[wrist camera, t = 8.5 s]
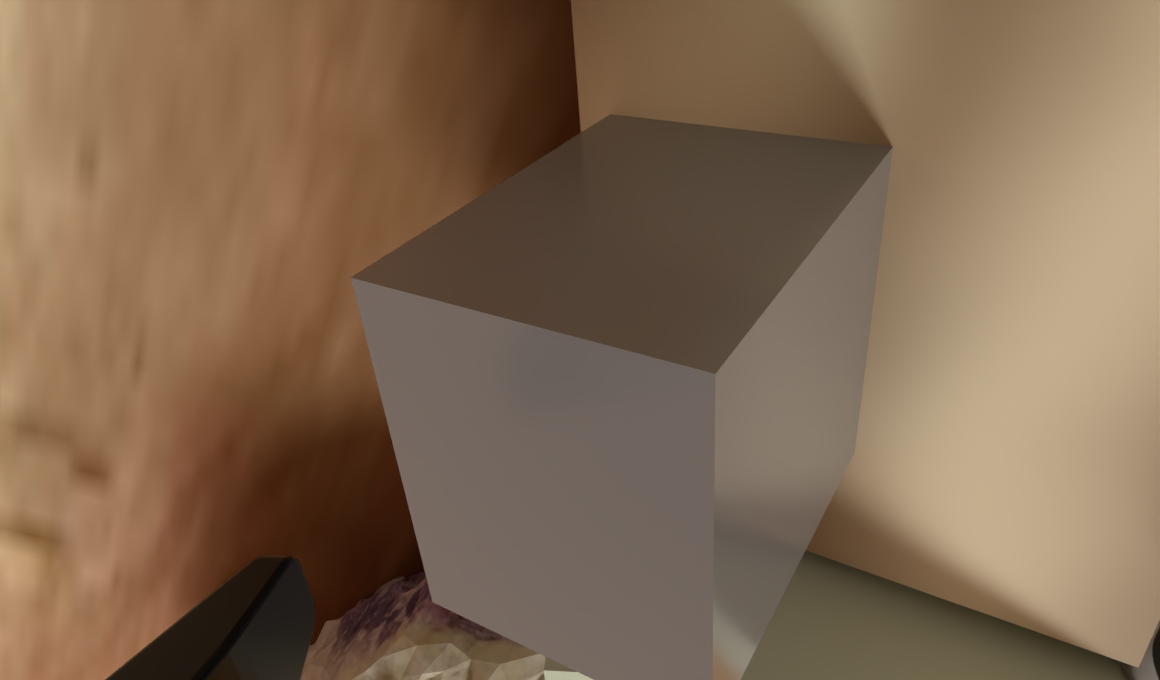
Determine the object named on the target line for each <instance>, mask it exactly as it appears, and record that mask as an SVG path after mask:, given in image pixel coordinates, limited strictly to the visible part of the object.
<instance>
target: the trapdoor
mask: <svg viewBox="0 0 1160 680" xmlns="http://www.w3.org/2000/svg"><path fill="white" fill-rule="evenodd" d="M571 10H572V23H573V36H574V49H575V62H576V76H577V89H578V102H579V115H580V128H581V132H583V131H584V130H586V129H587V128H589V127H591V126H592V125H594V124H595V123H597V122H599V121H600V120H602V119H603V118H605V117H607V116H608V115H610V114H613V115H621V116H630V117H639V118H647V119H656V120H665V121H673V122H682V123H690V124H699V125H708V126H716V127H725V128H733V129H742V130H751V131H759V132H768V133H776V134H785V135H794V136H802V137H811V138H819V139H828V140H837V141H845V142H854V143H862V144H871V145H880V146H888V147H893V150H892V158H891V166H890V174H889V182H888V190H887V198H886V206H885V214H884V222H883V230H882V238H881V246H880V254H879V262H878V270H877V278H876V286H875V294H874V302H873V310H872V318H871V326H870V334H869V342H868V350H867V358H866V366H865V374H864V382H863V390H862V398H861V406H860V414H859V422H858V430H857V438H856V446H855V453H854V455H853V457H852V459H851V461H850V463H849V465H848V467H847V469H846V471H845V473H844V475H843V477H842V479H841V481H840V483H839V485H838V487H837V489H836V491H835V493H834V495H833V497H832V499H831V501H830V503H829V505H828V507H827V509H826V511H825V513H824V515H823V517H822V519H821V521H820V523H819V525H818V527H817V529H816V531H815V533H814V535H813V537H812V539H811V541H810V543H809V545H808V547H807V549H806V551H809V552H812V553H815V554H817V555H820V556H823V557H826V558H829V559H832V560H834V561H837V562H840V563H843V564H846V565H849V566H851V567H854V568H857V569H860V570H863V571H866V572H868V573H871V574H874V575H877V576H880V577H883V578H885V579H888V580H891V581H894V582H897V583H900V584H902V585H905V586H908V587H911V588H914V589H917V590H919V591H922V592H925V593H928V594H931V595H934V596H936V597H939V598H942V599H945V600H948V601H951V602H953V603H956V604H959V605H962V606H965V607H968V608H970V609H973V610H976V611H979V612H982V613H985V614H987V615H990V616H993V617H996V618H999V619H1002V620H1004V621H1007V622H1010V623H1013V624H1016V625H1019V626H1021V627H1024V628H1027V629H1030V630H1033V631H1036V632H1038V633H1041V634H1044V635H1047V636H1050V637H1053V638H1055V639H1058V640H1061V641H1064V642H1067V643H1070V644H1072V645H1075V646H1078V647H1081V648H1084V649H1087V650H1089V651H1092V652H1095V653H1098V654H1101V655H1104V656H1106V657H1109V658H1112V659H1115V660H1118V661H1120V667H1121V670H1122V672H1123V673H1124V675H1125V676H1126V678H1127V679H1128V680H1158V677H1157V673H1156V670H1155V667H1154V663H1153V656H1152V646H1153V641H1154V637H1155V635H1156V633H1157V631H1158V628H1159V626H1160V0H571Z"/></svg>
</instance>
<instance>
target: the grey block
mask: <svg viewBox="0 0 1160 680" xmlns="http://www.w3.org/2000/svg"><path fill="white" fill-rule="evenodd" d="M892 150H893V147H888V146H880V145H871V144H862V143H854V142H845V141H837V140H828V139H819V138H811V137H802V136H794V135H785V134H776V133H768V132H759V131H751V130H742V129H733V128H725V127H716V126H708V125H699V124H690V123H682V122H673V121H665V120H656V119H647V118H639V117H630V116H621V115H613V114H610V115H608V116H607V117H605V118H603V119H602V120H600V121H599V122H597V123H595V124H594V125H592V126H591V127H589V128H587V129H586V130H584V131H583V132H581V133H580V134H578V135H576V136H575V137H573V138H572V139H570V140H568V141H567V142H565V143H564V144H562V145H561V146H559V147H557V148H556V149H554V150H553V151H551V152H549V153H548V154H546V155H545V156H543V157H541V158H540V159H538V160H537V161H535V162H534V163H532V164H530V165H529V166H527V167H526V168H524V169H522V170H521V171H519V172H518V173H516V174H514V175H513V176H511V177H510V178H508V179H507V180H505V181H503V182H502V183H500V184H499V185H497V186H495V187H494V188H492V189H491V190H489V191H487V192H486V193H484V194H483V195H481V196H480V197H478V198H476V199H475V200H473V201H472V202H470V203H468V204H467V205H465V206H464V207H462V208H461V209H459V210H457V211H456V212H454V213H453V214H451V215H449V216H448V217H446V218H445V219H443V220H441V221H440V222H438V223H437V224H435V225H434V226H432V227H430V228H429V229H427V230H426V231H424V232H422V233H421V234H419V235H418V236H416V237H414V238H413V239H411V240H410V241H408V242H407V243H405V244H403V245H402V246H400V247H399V248H397V249H395V250H394V251H392V252H391V253H389V254H387V255H386V256H384V257H383V258H381V259H380V260H378V261H376V262H375V263H373V264H372V265H370V266H368V267H367V268H365V269H364V270H362V271H361V272H359V273H357V274H356V275H354V276H353V277H351V281H352V285H353V289H354V293H355V297H356V301H357V305H358V308H359V312H360V316H361V320H362V324H363V328H364V332H365V336H366V340H367V344H368V348H369V352H370V356H371V360H372V364H373V368H374V372H375V376H376V380H377V384H378V388H379V392H380V396H381V400H382V404H383V408H384V412H385V416H386V420H387V424H388V427H389V431H390V435H391V439H392V443H393V447H394V451H395V455H396V459H397V463H398V467H399V471H400V475H401V479H402V483H403V487H404V491H405V495H406V499H407V503H408V507H409V511H410V515H411V519H412V523H413V527H414V531H415V535H416V539H417V543H418V546H419V550H420V554H421V558H422V562H423V566H424V570H425V574H426V578H427V582H428V586H429V590H430V594H431V598H432V602H433V603H435V604H438V605H440V606H442V607H444V608H446V609H448V610H450V611H452V612H454V613H456V614H458V615H460V616H462V617H465V618H467V619H469V620H471V621H473V622H475V623H477V624H479V625H481V626H483V627H485V628H487V629H489V630H492V631H494V632H496V633H498V634H500V635H502V636H504V637H506V638H508V639H510V640H512V641H514V642H516V643H519V644H521V645H523V646H525V647H527V648H529V649H531V650H533V651H535V652H537V653H539V654H541V655H543V656H546V657H548V658H550V659H552V660H554V661H556V662H558V663H560V664H562V665H564V666H566V667H568V668H570V669H573V670H575V671H577V672H579V673H581V674H583V675H585V676H587V677H589V678H591V679H593V680H741V678H742V676H743V674H744V672H745V670H746V668H747V666H748V664H749V662H750V660H751V658H752V656H753V654H754V652H755V650H756V648H757V646H758V644H759V642H760V640H761V638H762V636H763V634H764V632H765V630H766V628H767V626H768V624H769V622H770V620H771V618H772V616H773V614H774V612H775V610H776V608H777V606H778V604H779V602H780V600H781V598H782V596H783V594H784V592H785V590H786V588H787V586H788V584H789V582H790V580H791V578H792V576H793V574H794V572H795V570H796V568H797V566H798V564H799V562H800V560H801V558H802V556H803V554H804V552H805V551H806V549H807V547H808V545H809V543H810V541H811V539H812V537H813V535H814V533H815V531H816V529H817V527H818V525H819V523H820V521H821V519H822V517H823V515H824V513H825V511H826V509H827V507H828V505H829V503H830V501H831V499H832V497H833V495H834V493H835V491H836V489H837V487H838V485H839V483H840V481H841V479H842V477H843V475H844V473H845V471H846V469H847V467H848V465H849V463H850V461H851V459H852V457H853V455H854V453H855V446H856V438H857V430H858V422H859V414H860V406H861V398H862V390H863V382H864V374H865V366H866V358H867V350H868V342H869V334H870V326H871V318H872V310H873V302H874V294H875V286H876V278H877V270H878V262H879V254H880V246H881V238H882V230H883V222H884V214H885V206H886V198H887V190H888V182H889V174H890V166H891V158H892Z"/></svg>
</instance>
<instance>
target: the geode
mask: <svg viewBox="0 0 1160 680" xmlns="http://www.w3.org/2000/svg"><path fill="white" fill-rule="evenodd" d="M545 659H546V656H543V655H541V654H539V653H537V652H535V651H533V650H531V649H529V648H527V647H525V646H523V645H521V644H519V643H516V642H514V641H512V640H510V639H508V638H506V637H504V636H502V635H500V634H498V633H496V632H494V631H492V630H489V629H487V628H485V627H483V626H481V625H479V624H477V623H475V622H473V621H471V620H469V619H467V618H465V617H462V616H460V615H458V614H456V613H454V612H452V611H450V610H448V609H446V608H444V607H442V606H440V605H438V604H435V603H433V602H432V598H431V594H430V590H429V586H428V582H427V578H426V574H425V571H424V572H421V573H418V574H415V575H412V576H408V577H404V576H403V575H400V576H398V577H396V578H394V579H392V580H390V581H388V582H387V583H385V584H384V585H382V586H381V587H379V588H378V589H376V591H375V593H374V595H373V596H372V597H370V598H368V599H360V601H359V602H358V603H357V605H356V606H355V607H353V608H351V609H350V610H348V611H346V613H345V614H344V615H343V616H341V617H340V618H338V619H334V620H329V621H326V622H325V624H324V626H323V628H322V630H321V633H320V635H319V637H318V639H317V641H316V643H315V644H313V645H310V646H309V649H308V653H307V657H306V660H305V664H304V668H303V672H302V675H301V679H300V680H545V676H544V665H545Z"/></svg>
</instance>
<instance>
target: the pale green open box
mask: <svg viewBox="0 0 1160 680" xmlns="http://www.w3.org/2000/svg"><path fill="white" fill-rule="evenodd" d="M544 676H545V680H593V679H591V678H589V677H587V676H585V675H583V674H581V673H579V672H577V671H575V670H573V669H570V668H568V667H566V666H564V665H562V664H560V663H558V662H556V661H554V660H552V659H550V658H548V657H546V659H545V665H544ZM741 680H1128V679H1127V678H1126V676H1125V675H1124V673H1123V672H1122V670H1121V667H1120V661H1118V660H1115V659H1112V658H1109V657H1106V656H1104V655H1101V654H1098V653H1095V652H1092V651H1089V650H1087V649H1084V648H1081V647H1078V646H1075V645H1072V644H1070V643H1067V642H1064V641H1061V640H1058V639H1055V638H1053V637H1050V636H1047V635H1044V634H1041V633H1038V632H1036V631H1033V630H1030V629H1027V628H1024V627H1021V626H1019V625H1016V624H1013V623H1010V622H1007V621H1004V620H1002V619H999V618H996V617H993V616H990V615H987V614H985V613H982V612H979V611H976V610H973V609H970V608H968V607H965V606H962V605H959V604H956V603H953V602H951V601H948V600H945V599H942V598H939V597H936V596H934V595H931V594H928V593H925V592H922V591H919V590H917V589H914V588H911V587H908V586H905V585H902V584H900V583H897V582H894V581H891V580H888V579H885V578H883V577H880V576H877V575H874V574H871V573H868V572H866V571H863V570H860V569H857V568H854V567H851V566H849V565H846V564H843V563H840V562H837V561H834V560H832V559H829V558H826V557H823V556H820V555H817V554H815V553H812V552H809V551H805V552H804V554H803V556H802V558H801V560H800V562H799V564H798V566H797V568H796V570H795V572H794V574H793V576H792V578H791V580H790V582H789V584H788V586H787V588H786V590H785V592H784V594H783V596H782V598H781V600H780V602H779V604H778V606H777V608H776V610H775V612H774V614H773V616H772V618H771V620H770V622H769V624H768V626H767V628H766V630H765V632H764V634H763V636H762V638H761V640H760V642H759V644H758V646H757V648H756V650H755V652H754V654H753V656H752V658H751V660H750V662H749V664H748V666H747V668H746V670H745V672H744V674H743V676H742V678H741Z"/></svg>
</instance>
